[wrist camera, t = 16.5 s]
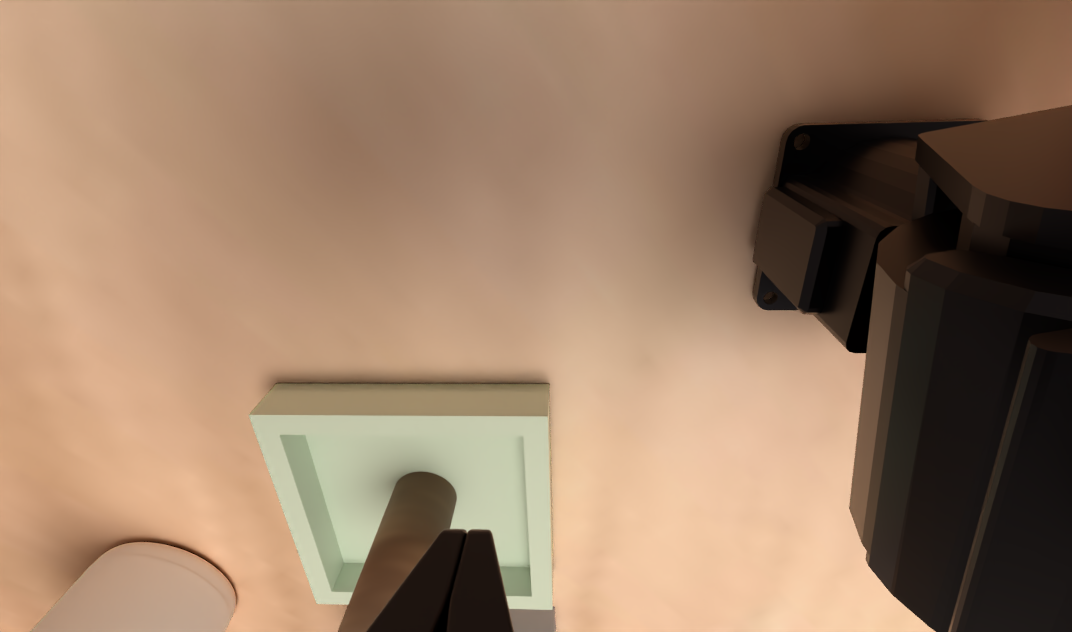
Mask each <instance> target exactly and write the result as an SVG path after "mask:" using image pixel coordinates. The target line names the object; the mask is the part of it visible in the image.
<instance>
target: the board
mask: <svg viewBox="0 0 1072 632" xmlns="http://www.w3.org/2000/svg"><path fill="white" fill-rule="evenodd" d="M509 611H510V616H511V620H512V625H513V629H514V632H556V622H555V607H553V610H534V609H509Z"/></svg>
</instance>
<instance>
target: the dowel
mask: <svg viewBox="0 0 1072 632" xmlns="http://www.w3.org/2000/svg"><path fill="white" fill-rule="evenodd" d="M456 501H457V495H456V491H455V489H454V487H453V486H452V485H451V483H450V482H448V481H447V480H446V479H445V478H443V477H441V476H439V475H437V474H434V473H430V472H422V471H420V472H412V473H409V474H406V475H404V476H403V477H401V478H400V479H399V480H398V481H397V483H396V485H395V487H394V490H393V492H392V495H391V497H390V500H389V503H388V505H387V508H386V510H385V513H384V515H383V518H382V520H381V523H380V525H379V528H378V531H377V533H376V536H375V538H374V541H373V543H372V546H371V548H370V551H369V553H368V556H367V559H366V561H365V564H364V566H363V569H362V571H361V574H360V576H359V579H358V581H357V584H356V587H355V589H354V592H353V594H352V597H351V599H350V602H349V604H348V607H347V609H346V612H345V615H344V617H343V620H342V622H341V625H340V627H339V630H338V632H366V630H367V629H368V628H369V626H370V625H371V624H372V622H373V621H374V620H375V618H376V617H377V616H378V614H379V613H380V612H381V610H382V609H383V608H384V606H385V605H386V604H387V603H388V601H389V600H390V599H391V597H392V596H393V595H394V593H395V592H396V591H397V589H398V588H399V587H400V585H401V584H402V583H403V581H404V580H405V579H406V577H407V576H408V575H409V573H410V572H411V571H412V569H413V568H414V567H415V565H416V564H417V563H418V561H419V560H420V559H421V557H422V556H423V555H424V553H425V552H426V551H427V549H428V548H429V547H430V545H431V544H432V543H433V541H434V540H435V539H436V537H437V536H438V535H439V534H440V532H441V531H443V530H444V529H450V526H451V522H452V518H453V514H454V510H455V505H456Z"/></svg>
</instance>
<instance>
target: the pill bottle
mask: <svg viewBox="0 0 1072 632" xmlns="http://www.w3.org/2000/svg"><path fill="white" fill-rule="evenodd" d="M235 606H236V596H235V592H234V589H233V587H232V585H231V584H230V582H229V581H228V579H227V578H226V577H225V576H224V575H223V574H222V573H221V572H220V571H219V570H218V569H217V568H215V567H214V566H213V565H211V564H210V563H208V562H207V561H205V560H204V559H202V558H200V557H198V556H196V555H194V554H192V553H190V552H187V551H185V550H182V549H179V548H176V547H173V546H169V545H165V544H159V543H151V542H133V543H127V544H122V545H119V546H117V547H114V548H112V549H110V550H108V551H107V552H105V553H104V554H103V555H101V556H100V557H99V558H98V559H97V560H96V561H95V562H94V563H93V564H92V565H90V566H89V567H88V568H87V569H86V571H85V572H84V573H83V574H82V575H81V576H80V577H79V578H78V579H77V580H76V582H75V583H74V584H73V585H72V586H71V587H70V588H69V589H68V590H67V591H66V593H65V594H64V595H63V596H62V597H61V598H60V599H59V600H58V601H57V602H56V604H55V605H54V606H53V607H52V608H51V609H50V610H49V611H48V612H47V613H46V615H45V616H44V617H43V618H42V619H41V620H40V621H39V622H38V623H37V624H36V625H35V627H34V628H33V629H32V630H31V631H30V632H225V630H226V628H227V627H228V625H229V622H230V620H231V618H232V616H233V613H234V610H235Z"/></svg>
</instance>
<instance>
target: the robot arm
mask: <svg viewBox="0 0 1072 632" xmlns="http://www.w3.org/2000/svg"><path fill="white" fill-rule="evenodd" d="M799 134H804V135H805V141H804V143H803V144H802V145H801V146H800V147H798V148H795V147H794V140H795V138H796V137H797V136H798V135H799ZM753 262H754V263H755V264H756V265H757V266H758V269H757V275H756V280H755V286H754V291H753V299H754V300H755V302H756V303H757V305H758V306H759V307H760V308H762V309H764V310H799V311H800V312H801V313H802V314H813V315H814V316H815V317H816V318H817V319H818V320H819V321H820V322H821V323H822V324H823V325H824V326H825V327H826V328H827V329H828V330H829V331H830V332H831V333H832V334H833V336H834V337H835V338H836V339H837V340H838V341H839V342H840V343H841V344H842V345H843V346H844V347H845V348H846V349H847V350H848V351H849V352H853V353H866V361H865V370H864V379H863V388H862V397H861V406H860V415H859V424H858V433H857V442H856V451H855V460H854V469H853V478H852V487H851V497H850V506H849V509H850V512H851V514H852V517H853V520H854V523H855V526H856V528H857V531H858V534H859V537H860V539H861V542H862V544H863V546H864V547H865V549H866V550H867V553H866V561H867V563H868V566H869V567H870V568H871V569H872V571H873V572H874V573H875V574H876V576H877V577H878V578H879V579H880V580H881V582H882V583H883V584H884V585H885V587H886V588H887V589H888V590H889V591H890V593H891V594H892V595H893V596H894V597H896V598H897V599H898V600H899V601H900V602H901V603H902V604H904V605H905V606H906V607H907V608H908V609H909V610H911V611H912V612H913V613H914V614H915V615H916V616H917V617H919V618H920V619H921V620H922V621H923V622H924V623H926V624H927V625H928V626H929V627H930V628H932V629H933V630H935V631H936V632H1072V105H1071V106H1065V107H1060V108H1054V109H1049V110H1044V111H1038V112H1033V113H1027V114H1022V115H1017V116H1011V117H1006V118H1000V119H995V120H982V119H961V120H922V121H883V122H844V123H805V124H796V125H793V126H791V127H790V128H788V129H787V130H786V132H785V133H784V134H783V137H782V139H781V143H780V149H779V154H778V160H777V165H776V171H775V176H774V182H773V187H771V188H770V189H769V190H768V191H767V192H766V193H765V194H764V198H763V204H762V210H761V215H760V221H759V227H758V232H757V238H756V244H755V249H754V255H753ZM768 292H774V294H773V296H772V297H771V298H770V299H767V300H764V299H763V298H764V296H765V294H767V293H768ZM366 632H514V629H513V625H512V620H511V616H510V611H509V606H508V602H507V597H506V593H505V588H504V584H503V579H502V575H501V570H500V566H499V561H498V557H497V552H496V548H495V543H494V539H493V534H492V532H491V531H490V530H488V529H471V530H469V531H468V532H467V531H466V530H465V529H444V530H443V531H441V532H440V534H439V535H438V536H437V537H436V539H435V540H434V541H433V543H432V544H431V545H430V547H429V548H428V549H427V551H426V552H425V553H424V555H423V556H422V557H421V559H420V560H419V561H418V563H417V564H416V565H415V567H414V568H413V569H412V571H411V572H410V573H409V575H408V576H407V577H406V579H405V580H404V581H403V583H402V584H401V585H400V587H399V588H398V589H397V591H396V592H395V593H394V595H393V596H392V597H391V599H390V600H389V601H388V603H387V604H386V605H385V606H384V608H383V609H382V610H381V612H380V613H379V614H378V616H377V617H376V618H375V620H374V621H373V622H372V624H371V625H370V626H369V628H368V629H367V630H366Z"/></svg>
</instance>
